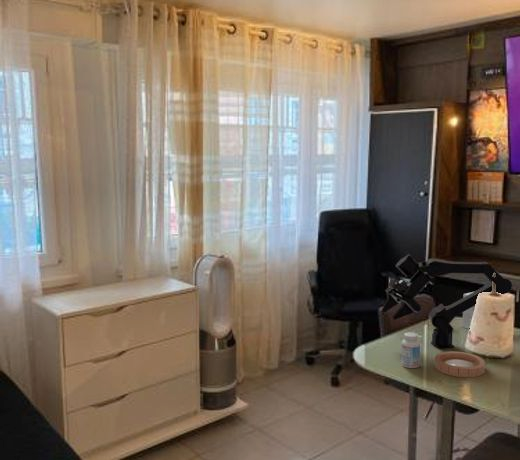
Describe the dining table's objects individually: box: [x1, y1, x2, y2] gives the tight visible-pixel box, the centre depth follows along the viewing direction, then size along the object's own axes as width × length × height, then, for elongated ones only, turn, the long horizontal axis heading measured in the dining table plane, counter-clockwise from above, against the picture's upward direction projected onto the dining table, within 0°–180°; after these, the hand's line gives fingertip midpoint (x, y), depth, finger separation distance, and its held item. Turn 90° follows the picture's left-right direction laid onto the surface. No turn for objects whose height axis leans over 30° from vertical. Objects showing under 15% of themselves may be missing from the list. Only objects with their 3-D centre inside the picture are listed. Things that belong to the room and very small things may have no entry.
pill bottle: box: [401, 331, 421, 369], centre depth 185 cm, size 6×6×11 cm
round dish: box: [433, 350, 486, 378], centre depth 183 cm, size 16×16×3 cm
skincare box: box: [461, 291, 475, 330], centre depth 224 cm, size 8×6×15 cm
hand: (387, 315), depth 201 cm, fingers open, 9 cm apart
